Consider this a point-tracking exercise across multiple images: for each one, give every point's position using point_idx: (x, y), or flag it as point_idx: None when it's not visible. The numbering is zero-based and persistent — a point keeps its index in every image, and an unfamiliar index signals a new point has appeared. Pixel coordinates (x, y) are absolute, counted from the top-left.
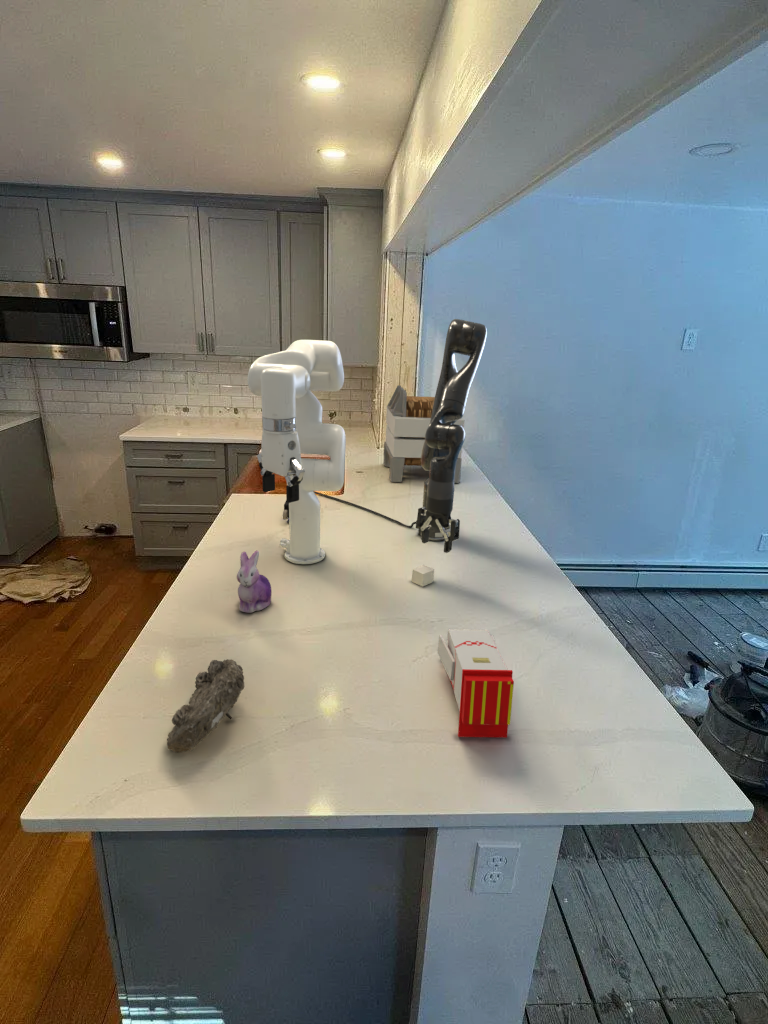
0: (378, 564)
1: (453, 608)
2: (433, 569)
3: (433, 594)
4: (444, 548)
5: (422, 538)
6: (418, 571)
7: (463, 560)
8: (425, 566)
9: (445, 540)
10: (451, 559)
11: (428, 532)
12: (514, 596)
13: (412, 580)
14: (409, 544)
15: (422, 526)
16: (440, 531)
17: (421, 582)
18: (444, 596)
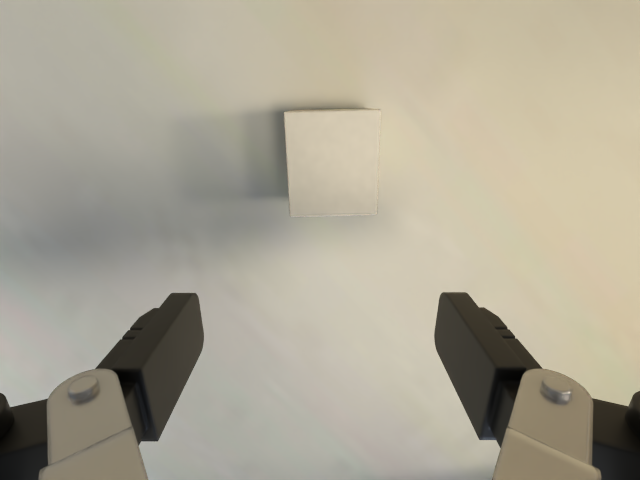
0: (632, 116)
1: (21, 58)
2: (292, 212)
3: (195, 93)
4: (174, 310)
5: (476, 312)
6: (330, 114)
7: (354, 429)
8: (351, 205)
9: (138, 378)
10: (392, 405)
11: (471, 409)
12: (12, 355)
13: (363, 108)
14: (617, 383)
15: (581, 424)
16: (138, 457)
17: (297, 110)
18: (149, 124)
